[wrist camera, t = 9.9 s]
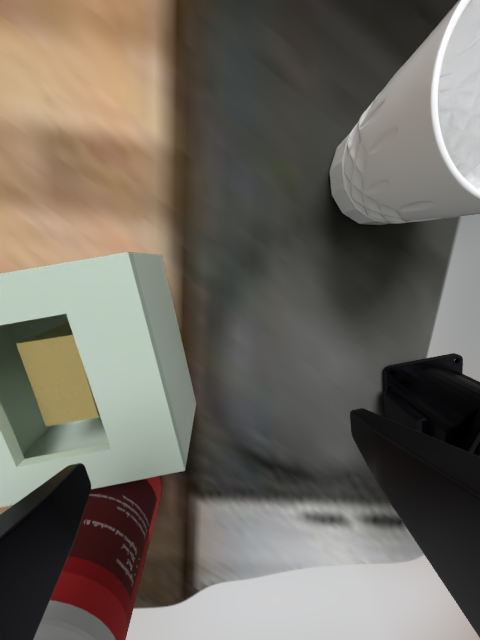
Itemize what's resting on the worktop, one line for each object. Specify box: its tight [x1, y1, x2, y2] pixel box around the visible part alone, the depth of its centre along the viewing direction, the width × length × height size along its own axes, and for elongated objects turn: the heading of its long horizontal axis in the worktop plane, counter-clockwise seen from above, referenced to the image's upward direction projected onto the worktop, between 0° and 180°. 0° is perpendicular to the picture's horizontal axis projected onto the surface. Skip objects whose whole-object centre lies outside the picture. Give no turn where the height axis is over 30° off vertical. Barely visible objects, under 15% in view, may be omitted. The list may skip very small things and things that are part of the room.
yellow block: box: [16, 322, 100, 426], centre depth 17 cm, size 3×5×5 cm, turn 8°
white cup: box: [329, 0, 480, 225], centre depth 14 cm, size 8×8×10 cm
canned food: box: [33, 476, 161, 640], centre depth 17 cm, size 8×8×11 cm
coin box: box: [0, 252, 196, 507], centre depth 16 cm, size 12×12×7 cm
